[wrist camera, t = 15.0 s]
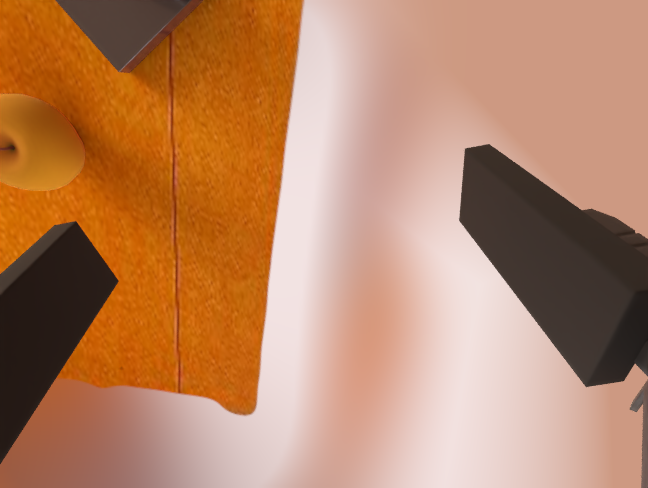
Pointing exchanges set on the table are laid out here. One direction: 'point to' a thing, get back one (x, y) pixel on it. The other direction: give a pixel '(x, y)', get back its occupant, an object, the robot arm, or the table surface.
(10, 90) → the table surface
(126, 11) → the tap base
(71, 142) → the apple
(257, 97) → the table surface
